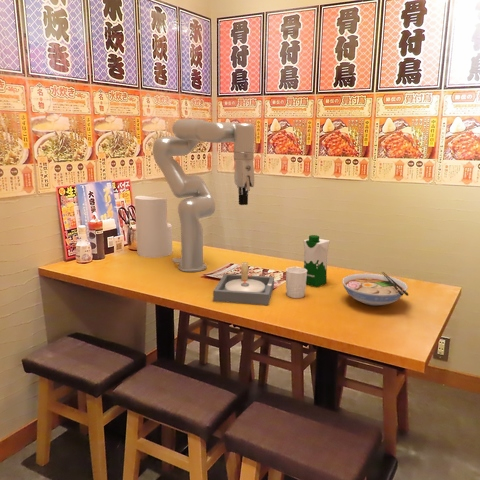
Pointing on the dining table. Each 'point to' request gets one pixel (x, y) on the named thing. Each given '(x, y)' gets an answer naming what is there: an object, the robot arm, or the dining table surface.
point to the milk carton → (316, 260)
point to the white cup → (296, 281)
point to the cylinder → (152, 227)
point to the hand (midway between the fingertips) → (243, 204)
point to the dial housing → (242, 296)
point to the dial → (245, 282)
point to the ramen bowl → (374, 288)
